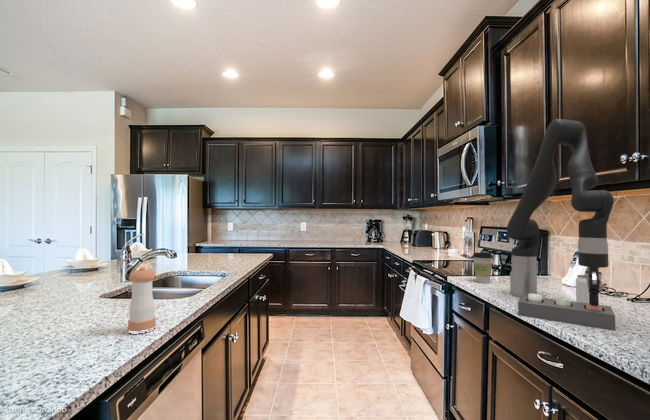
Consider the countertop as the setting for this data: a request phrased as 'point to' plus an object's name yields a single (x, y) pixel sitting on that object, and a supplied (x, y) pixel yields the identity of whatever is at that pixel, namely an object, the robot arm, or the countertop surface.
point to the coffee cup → (482, 266)
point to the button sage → (563, 303)
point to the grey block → (582, 289)
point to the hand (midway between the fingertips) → (593, 304)
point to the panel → (567, 313)
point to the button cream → (535, 297)
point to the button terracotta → (594, 307)
